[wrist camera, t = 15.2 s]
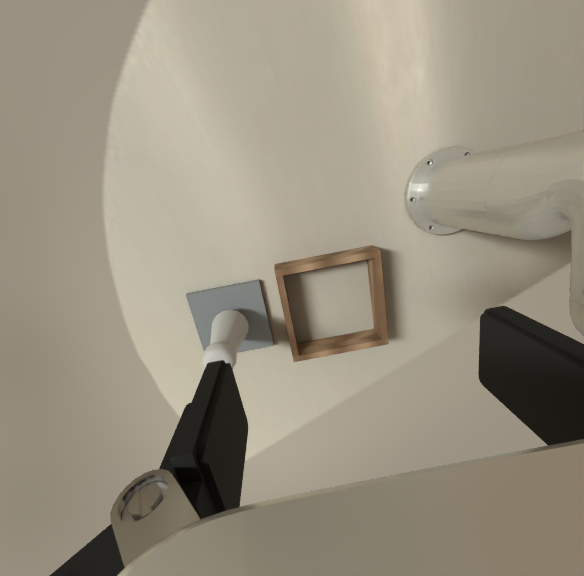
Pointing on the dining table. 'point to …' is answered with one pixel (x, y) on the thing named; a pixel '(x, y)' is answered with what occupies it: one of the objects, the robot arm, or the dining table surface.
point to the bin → (348, 340)
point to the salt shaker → (226, 337)
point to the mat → (233, 298)
